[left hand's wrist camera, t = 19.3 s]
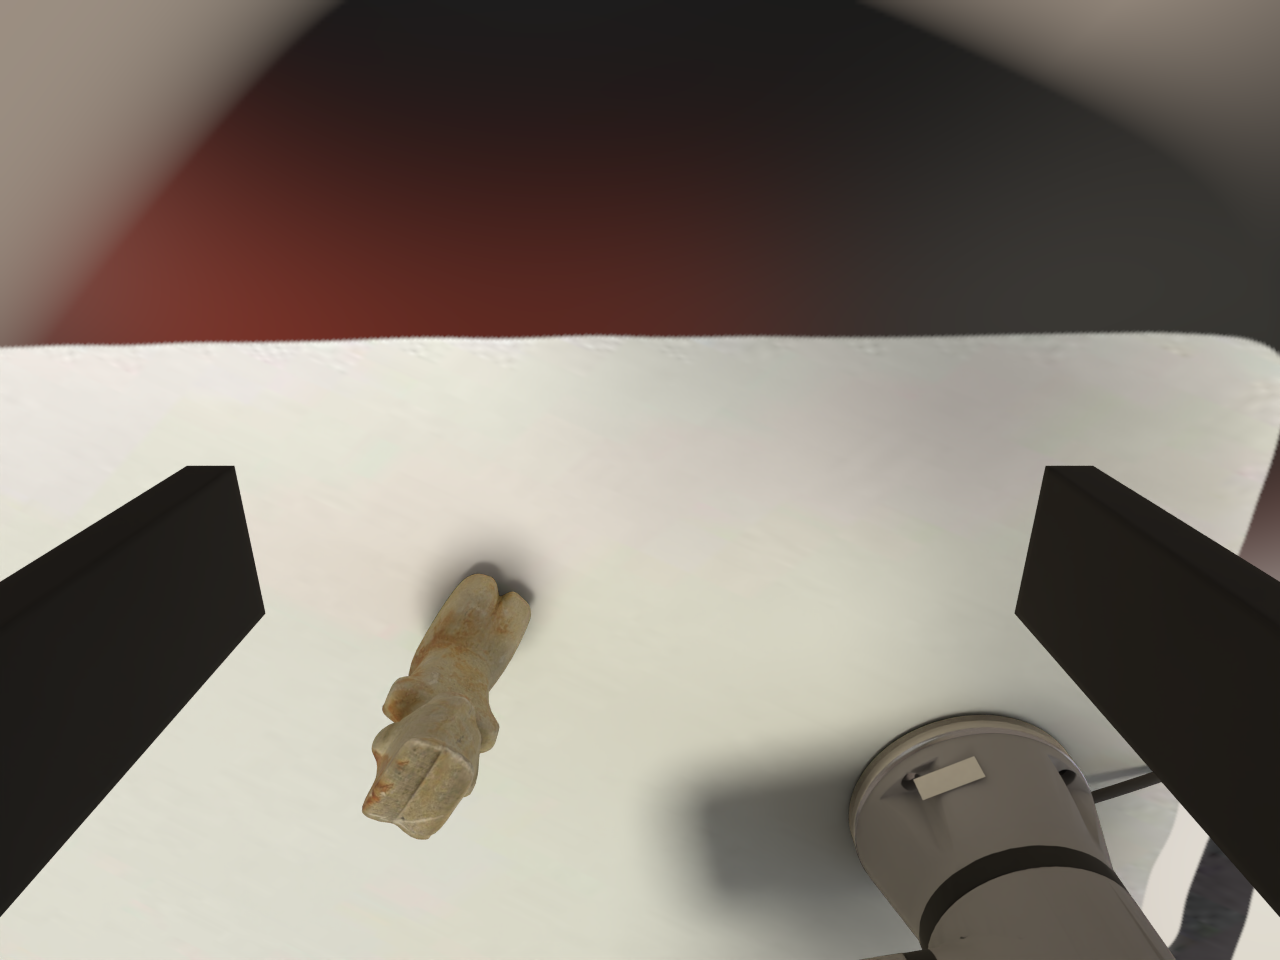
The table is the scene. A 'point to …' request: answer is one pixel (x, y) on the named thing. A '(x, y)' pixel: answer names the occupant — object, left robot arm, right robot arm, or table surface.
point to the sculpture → (445, 709)
